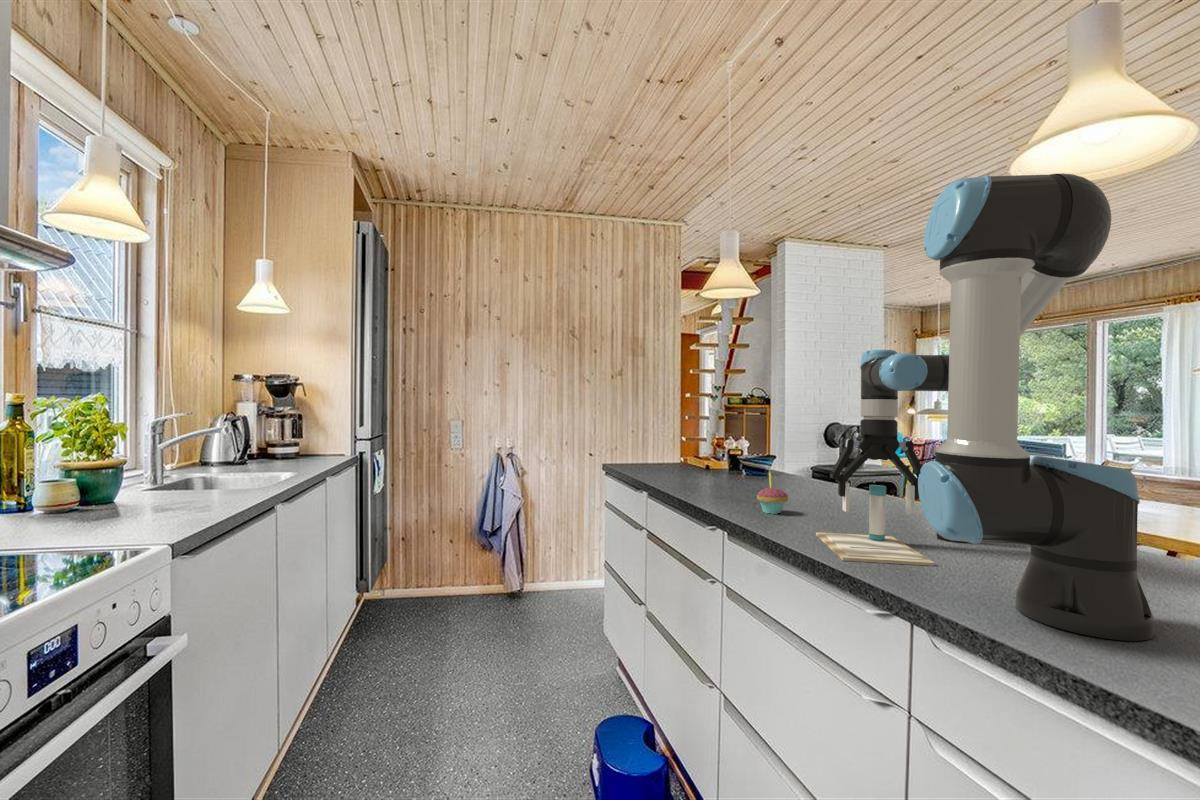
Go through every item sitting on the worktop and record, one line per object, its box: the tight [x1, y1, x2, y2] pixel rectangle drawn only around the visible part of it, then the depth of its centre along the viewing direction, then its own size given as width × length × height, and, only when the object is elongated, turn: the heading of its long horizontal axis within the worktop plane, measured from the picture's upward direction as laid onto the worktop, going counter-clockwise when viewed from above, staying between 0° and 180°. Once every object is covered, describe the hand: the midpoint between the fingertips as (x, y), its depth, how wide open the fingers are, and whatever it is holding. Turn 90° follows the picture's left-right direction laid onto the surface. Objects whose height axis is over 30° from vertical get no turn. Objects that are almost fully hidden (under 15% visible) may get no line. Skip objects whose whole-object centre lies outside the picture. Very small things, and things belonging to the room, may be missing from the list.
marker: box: [868, 484, 887, 541], centre depth 123 cm, size 3×3×12 cm
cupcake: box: [756, 472, 789, 515], centre depth 156 cm, size 9×8×12 cm
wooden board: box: [815, 531, 936, 567], centre depth 118 cm, size 22×17×1 cm
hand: (877, 512), depth 123 cm, fingers open, 13 cm apart
